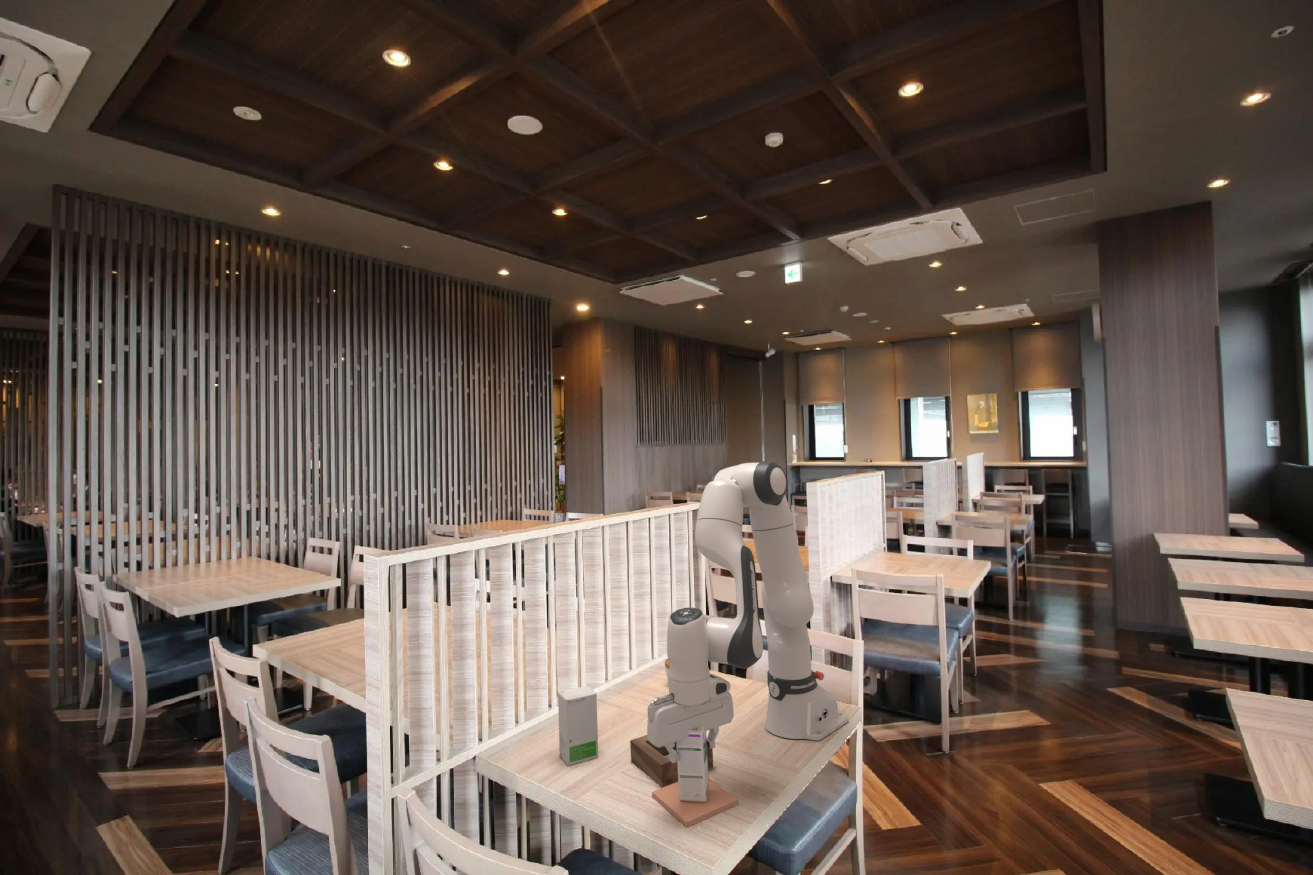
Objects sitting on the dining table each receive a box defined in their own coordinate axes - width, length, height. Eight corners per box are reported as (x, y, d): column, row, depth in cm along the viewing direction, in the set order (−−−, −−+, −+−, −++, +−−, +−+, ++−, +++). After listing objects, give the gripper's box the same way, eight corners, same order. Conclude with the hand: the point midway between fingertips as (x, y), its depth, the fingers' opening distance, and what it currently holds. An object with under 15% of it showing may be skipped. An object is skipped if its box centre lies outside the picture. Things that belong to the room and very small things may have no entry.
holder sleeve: (679, 744, 151) (678, 724, 151) (713, 767, 139) (712, 745, 139) (631, 761, 144) (630, 740, 144) (662, 787, 132) (661, 764, 132)
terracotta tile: (701, 776, 136) (701, 772, 136) (738, 804, 125) (738, 799, 125) (652, 796, 129) (652, 791, 129) (686, 827, 118) (686, 821, 118)
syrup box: (706, 802, 124) (703, 731, 124) (677, 800, 125) (675, 729, 125) (709, 787, 129) (706, 718, 129) (682, 785, 130) (679, 717, 131)
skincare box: (567, 766, 143) (564, 700, 143) (558, 754, 149) (555, 691, 149) (600, 757, 147) (597, 692, 147) (590, 745, 152) (587, 683, 153)
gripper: (655, 706, 119) (658, 776, 119) (736, 681, 130) (739, 745, 130) (639, 695, 125) (642, 763, 124) (718, 672, 135) (721, 734, 135)
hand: (692, 754), depth 127 cm, fingers closed on syrup box, 8 cm apart
